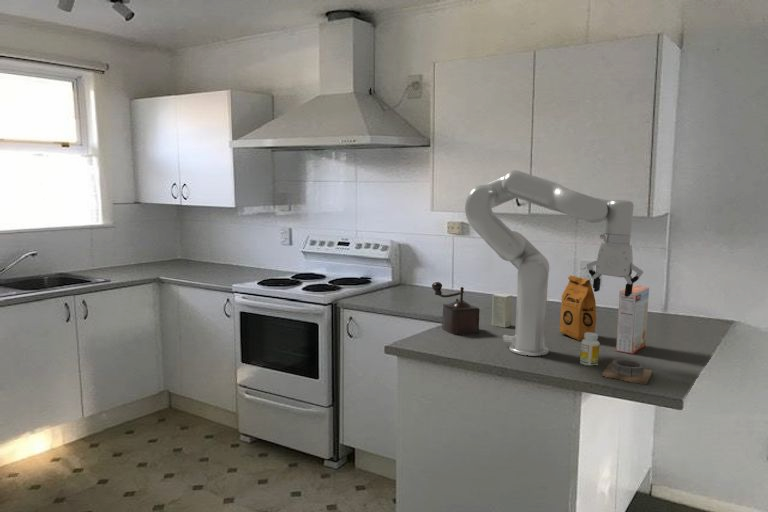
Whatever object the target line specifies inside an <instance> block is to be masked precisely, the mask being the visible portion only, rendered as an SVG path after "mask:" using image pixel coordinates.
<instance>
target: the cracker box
mask: <svg viewBox="0 0 768 512" xmlns="http://www.w3.org/2000/svg"><path fill="white" fill-rule="evenodd" d="M618 297H619V298H618V313H617V331H616V346H615V351H616V352H620V353H624V354H625V353H626V354H630V355H631V354H632V355H633V354H634V353H637V352H638V351H639V350H642V349H643V348H644V347H645V346H646V338H647V323H648V322H647V321H648V313H649V312H648V310H649V307H648V306H649V297H650V287H648V286H641V285H633V287H632V294H630V296H628V297H625V288H624V289H621V290H619V295H618Z"/></svg>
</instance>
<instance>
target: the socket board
mask: <svg viewBox="0 0 768 512" xmlns="http://www.w3.org/2000/svg"><path fill="white" fill-rule="evenodd" d="M652 373H653V370H651V369H646V368H645V364H644V363H642V362H640V361H637V360H631V359H625V358H622V359H621V358H620V359H613V360H612V361H611V363H609V364H608V365H607V367H605V369H604V370H603V372H602V373H601V377H602V376H607V377H611V378H615V379H614V380H617V379H619V380H618V381H623V380H624V382H628V381H629V383H635V384H641V385H645V386H646V385H647V384H648V382H649V380H650V378H651V376H652ZM611 378H610V379H611Z"/></svg>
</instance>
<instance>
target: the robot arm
mask: <svg viewBox="0 0 768 512" xmlns="http://www.w3.org/2000/svg"><path fill="white" fill-rule="evenodd" d="M515 199H519V200H522V201H525V202H528V203H530V204H534V205H536V206H539V207H542V208H545V209H548V210H550V211H553V212H554V211H555V212H558V213H560V214H561V213H562V214H565V215H568V216H570V217H573V218H576V219H579V220H581V221H585V222H587V223H591V224H597V223H600V222H605V232H604V233H603V234H600V235H599V237H600V239H601V240H603V242H601V243H600V245H599V249H598V254H597V258H596V260H594V261H592V262H589V263H587V264H586V267H587V270H588V273H589V275H590V276H591V277H592V279H593V282H592V283H593V284H592V289H593V293H595V292H599V291H600V288H601V278H600V277H601V276H602V275H603V276H606V277H607V276H608V277H616V278H617V277H618V278H624V279H625V281H626V283H625V288H624V289H625V297H628V296H630V294H632V287H633V286H634V285H633V284H635V282H637V281H638V280H640V278H641V276H643V274H644V271H643V270H642V269H641V268H639V267H638V266H637V265H635V264H633V260H634V258H633V257H634V256H633V246H632V245H631V238H632V237H631V235H632V224H633V217H634V206H635V205H634V203H633V202H632V201H630V200H625V199H624V200H623V199H611V200H608V199H602V198H598V197H594V196H591V195H587V194H585V193H581V192H578V191H575V190H573V189H570V188H567V187H565V186H564V185H562V184H559V183H557V182H555V181H552V180H548V179H546V178H543V177H542V178H541V177H539V176H537V175H533V174H530V173H526V172H523V171H521V170H510V171H508V172H507V173H506V174H505V175H504V176H501V177H499V178H498V179H495V180H492V181H490V182H488V183H486V184H481V185H480V184H479V185H476V186H475V187H473V188H472V189H471V190H470V191H469V192H468V195H467V197H466V199H465V200H466V201H465V205H464V206H465V207H464V210H465V211H464V212H465V216H466V220H467V221H468V224H469V225H470V226H471V228H472V229H473V230H474V231H475V233H476V234H478V235H479V236H480V238H481V239H483V241H484V242H485V243H486V244H487V245H488V246H489V247H490V248H491V249H492V250H493V251H494V253H496V255H498V257H499V258H501V259H502V260H504V261H505V262H506V261H507V262H509V263H511V265H513V267H515V269H517V285H516V286H517V290H516V311H515V326H514V328H515V330H514V331H515V332H514V335H509V334H503V336H502V341H504V342H506V343H510V345H509V350H510V352H512V353H514V354H518V355H521V356H527V355H528V356H531V357H541V355H542V356H546V355H548V353H549V348H548V347H547V346H545V335H546V320H547V319H546V318H547V317H546V316H547V299H548V286H549V285H548V283H549V275H550V274H549V273H550V263H549V261H548V259H547V257H545V255H543V254H542V253H541V251H540V250H538V249H537V248H536V246H534V245H533V244H532V243H531V242H530V241H529V240H528V239H527V238H526V237H525V236H524V235H523V234H521V233H520V232H518V231H514V230H511V228H509V227H508V226H507V225H506V224H505V222H503V220H501V219H500V218H499V217H498V216H497V215H496V214H495V213H494V212H493V209H494V208H495V207H498V206H500V205H503V204H504V203H505V204H506V203H508V202H510V201H513V200H515ZM594 266H595V270H594ZM633 271H634V272H635V273H636V274H635V275H634V277H633V276H632V273H633Z"/></svg>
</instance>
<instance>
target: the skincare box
mask: <svg viewBox="0 0 768 512" xmlns="http://www.w3.org/2000/svg"><path fill="white" fill-rule="evenodd" d="M491 306H492V310H491V311H492V312H491V313H492V314H491V326H495V327H500V328H509V327H510V326H511V325H512V322H511V321H512V295H511V294H504V293H494V294H492V305H491Z"/></svg>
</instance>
